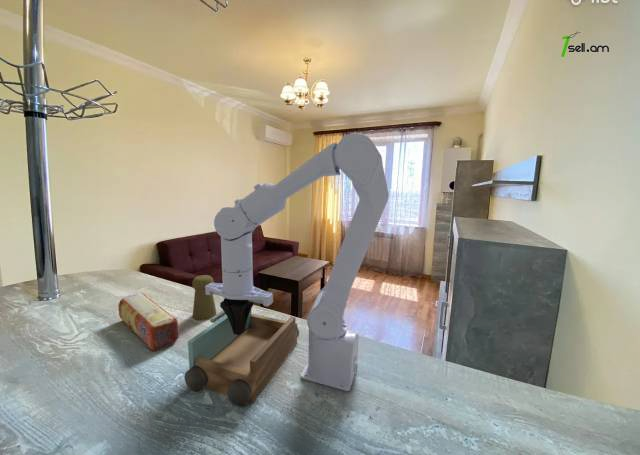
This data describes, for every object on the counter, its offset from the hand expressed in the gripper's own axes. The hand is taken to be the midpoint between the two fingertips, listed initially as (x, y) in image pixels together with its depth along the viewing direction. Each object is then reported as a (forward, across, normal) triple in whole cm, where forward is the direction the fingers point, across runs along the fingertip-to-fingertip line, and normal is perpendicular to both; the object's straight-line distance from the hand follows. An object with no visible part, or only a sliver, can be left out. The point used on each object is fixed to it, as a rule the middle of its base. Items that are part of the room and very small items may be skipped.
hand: (239, 332), depth 54 cm
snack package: (+6, +27, -1) cm, 28 cm away
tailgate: (+4, +4, 0) cm, 6 cm away
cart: (+6, -2, 0) cm, 6 cm away
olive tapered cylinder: (+6, +20, -12) cm, 24 cm away
